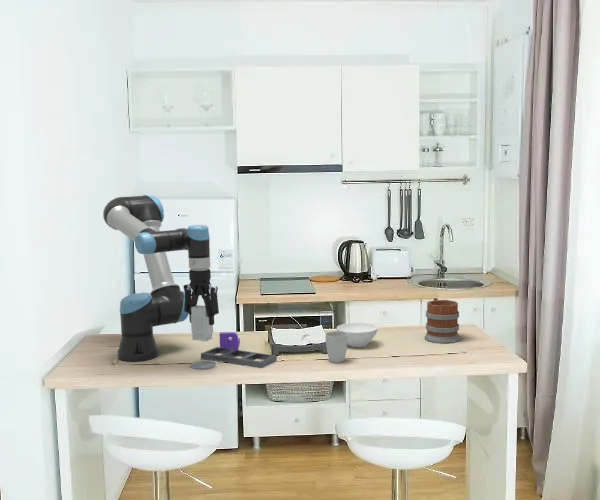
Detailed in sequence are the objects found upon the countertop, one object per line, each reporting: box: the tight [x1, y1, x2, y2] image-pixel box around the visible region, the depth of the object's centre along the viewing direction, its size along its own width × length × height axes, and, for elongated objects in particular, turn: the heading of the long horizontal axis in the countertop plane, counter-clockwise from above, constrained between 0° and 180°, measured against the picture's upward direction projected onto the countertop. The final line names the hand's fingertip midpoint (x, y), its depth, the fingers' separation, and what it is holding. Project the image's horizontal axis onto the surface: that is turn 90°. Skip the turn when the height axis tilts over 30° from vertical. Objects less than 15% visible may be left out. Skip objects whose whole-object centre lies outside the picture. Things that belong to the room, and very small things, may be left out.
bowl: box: [336, 322, 379, 348], centre depth 298 cm, size 16×16×7 cm
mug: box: [424, 297, 461, 344], centre depth 307 cm, size 14×19×15 cm
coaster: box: [190, 360, 217, 370], centre depth 275 cm, size 9×9×1 cm
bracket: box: [219, 331, 241, 350], centre depth 301 cm, size 12×7×7 cm, turn 1°
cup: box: [324, 330, 348, 364], centre depth 277 cm, size 8×8×10 cm
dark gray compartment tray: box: [200, 346, 278, 369], centre depth 281 cm, size 27×10×2 cm, turn 60°
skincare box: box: [191, 304, 213, 342], centre depth 272 cm, size 6×4×12 cm
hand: (202, 332), depth 273 cm, fingers closed on skincare box, 6 cm apart
